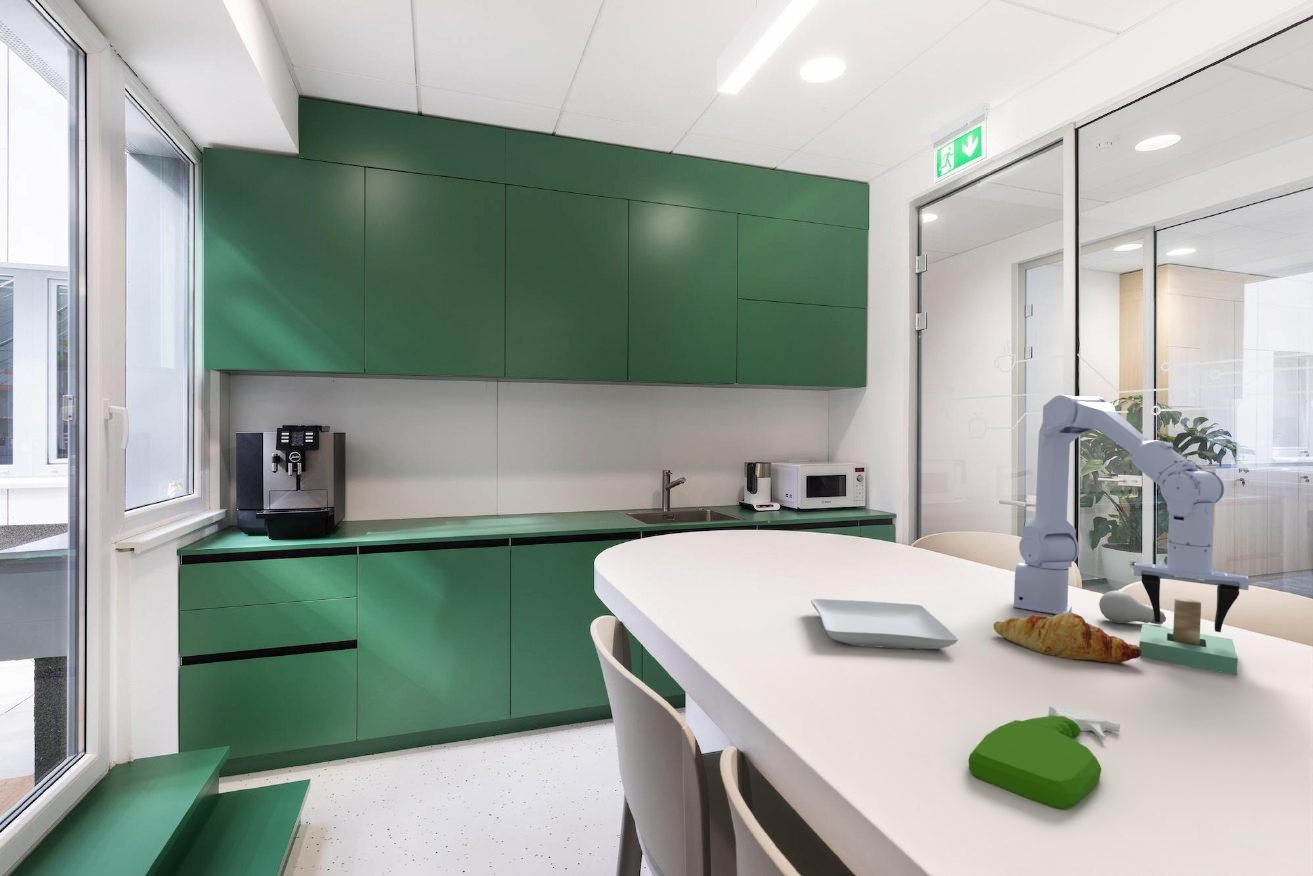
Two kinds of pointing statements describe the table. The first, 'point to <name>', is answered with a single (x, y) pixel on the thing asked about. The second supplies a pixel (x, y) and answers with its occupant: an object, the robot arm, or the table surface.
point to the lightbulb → (1126, 609)
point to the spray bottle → (1042, 757)
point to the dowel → (1187, 621)
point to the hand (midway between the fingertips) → (1186, 625)
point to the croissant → (1066, 638)
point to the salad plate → (883, 624)
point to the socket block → (1189, 650)
